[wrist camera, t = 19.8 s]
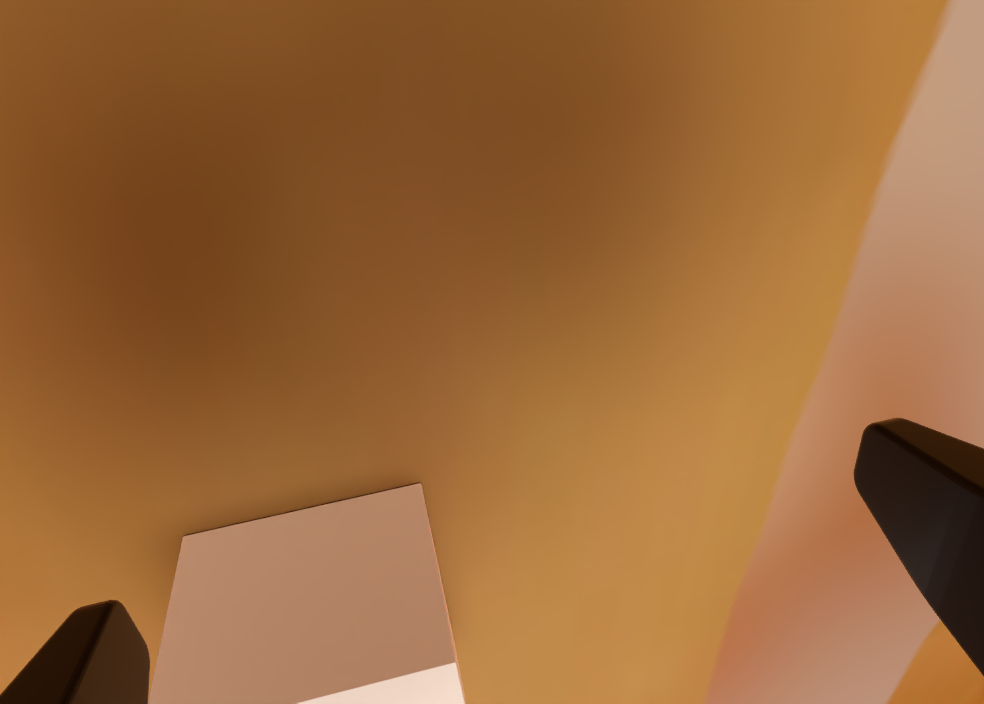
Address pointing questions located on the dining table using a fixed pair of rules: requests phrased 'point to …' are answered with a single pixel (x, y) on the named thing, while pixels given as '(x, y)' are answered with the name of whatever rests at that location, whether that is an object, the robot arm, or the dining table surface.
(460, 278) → the dining table surface
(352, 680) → the pale pink cube
